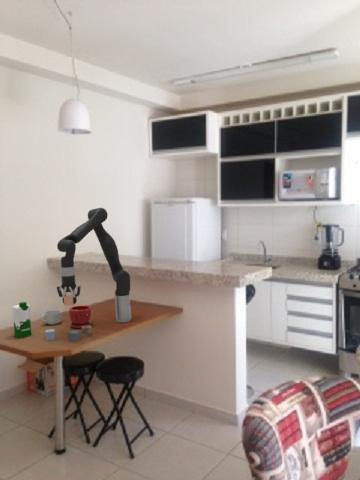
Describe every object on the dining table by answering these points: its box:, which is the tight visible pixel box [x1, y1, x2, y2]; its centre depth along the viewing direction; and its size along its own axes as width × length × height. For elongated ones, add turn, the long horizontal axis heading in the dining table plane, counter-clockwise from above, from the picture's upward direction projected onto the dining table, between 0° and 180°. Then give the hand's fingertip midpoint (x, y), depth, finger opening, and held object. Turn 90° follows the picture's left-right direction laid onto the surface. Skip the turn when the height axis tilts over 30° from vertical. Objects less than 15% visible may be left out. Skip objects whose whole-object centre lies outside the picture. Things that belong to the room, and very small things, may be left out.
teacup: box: [40, 309, 63, 326], centre depth 274 cm, size 14×11×8 cm
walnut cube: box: [81, 324, 93, 338], centre depth 248 cm, size 5×5×5 cm
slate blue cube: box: [45, 328, 56, 342], centre depth 243 cm, size 5×5×5 cm
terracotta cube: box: [63, 294, 75, 307], centre depth 245 cm, size 5×5×5 cm
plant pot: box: [68, 305, 92, 329], centre depth 266 cm, size 13×13×12 cm
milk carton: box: [11, 301, 33, 339], centre depth 250 cm, size 9×9×20 cm
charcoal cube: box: [67, 329, 82, 343], centre depth 240 cm, size 5×5×5 cm
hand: (69, 303), depth 245 cm, fingers closed on terracotta cube, 5 cm apart
